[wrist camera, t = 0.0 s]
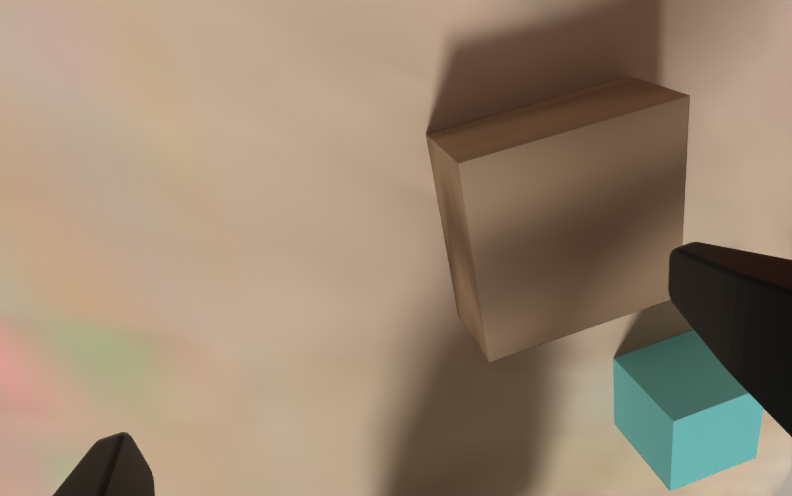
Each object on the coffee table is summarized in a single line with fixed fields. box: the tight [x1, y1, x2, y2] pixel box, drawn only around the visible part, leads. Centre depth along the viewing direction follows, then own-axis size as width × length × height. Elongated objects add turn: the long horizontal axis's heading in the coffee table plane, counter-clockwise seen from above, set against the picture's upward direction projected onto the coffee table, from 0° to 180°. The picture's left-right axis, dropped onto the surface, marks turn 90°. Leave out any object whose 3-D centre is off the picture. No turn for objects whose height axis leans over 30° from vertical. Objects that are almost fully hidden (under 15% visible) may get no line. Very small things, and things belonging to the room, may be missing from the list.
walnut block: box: [426, 76, 690, 362], centre depth 25 cm, size 9×9×4 cm
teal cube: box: [613, 330, 763, 491], centre depth 32 cm, size 5×5×5 cm
